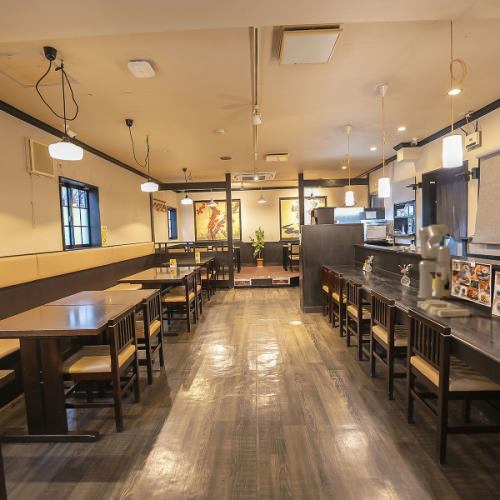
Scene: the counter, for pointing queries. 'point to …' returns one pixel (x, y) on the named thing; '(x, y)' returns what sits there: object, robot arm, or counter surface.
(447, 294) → the food model
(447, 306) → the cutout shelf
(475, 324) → the counter surface
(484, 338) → the counter surface
